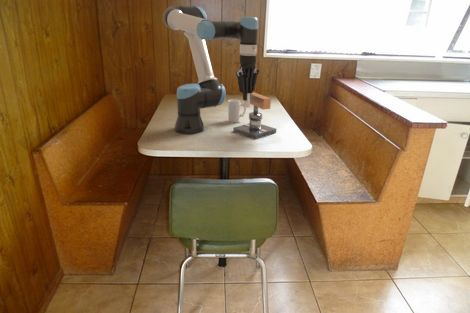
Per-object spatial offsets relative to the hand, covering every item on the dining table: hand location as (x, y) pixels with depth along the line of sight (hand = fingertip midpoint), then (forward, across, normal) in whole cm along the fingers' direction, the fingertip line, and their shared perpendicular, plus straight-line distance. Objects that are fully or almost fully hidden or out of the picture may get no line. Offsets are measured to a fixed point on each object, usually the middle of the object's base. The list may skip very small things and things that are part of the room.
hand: (246, 106), depth 159 cm
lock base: (+17, +14, +7) cm, 23 cm away
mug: (+17, +20, +27) cm, 38 cm away
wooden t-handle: (+10, +14, +7) cm, 18 cm away
